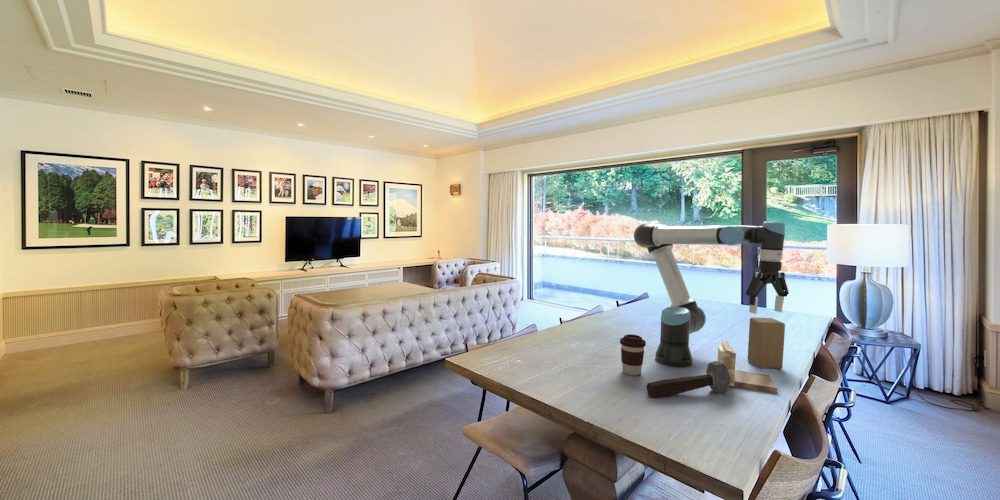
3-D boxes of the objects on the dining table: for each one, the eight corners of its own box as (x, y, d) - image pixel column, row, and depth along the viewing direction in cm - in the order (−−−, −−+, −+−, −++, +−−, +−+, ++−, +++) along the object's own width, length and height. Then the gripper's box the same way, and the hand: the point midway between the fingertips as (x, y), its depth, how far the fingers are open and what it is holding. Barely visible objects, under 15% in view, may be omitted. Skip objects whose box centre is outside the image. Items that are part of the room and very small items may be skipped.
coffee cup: (648, 372, 165) (649, 336, 163) (638, 379, 157) (639, 341, 156) (625, 366, 171) (626, 331, 170) (614, 372, 164) (615, 336, 163)
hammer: (653, 409, 140) (731, 393, 144) (651, 378, 139) (728, 363, 143) (646, 403, 145) (721, 388, 149) (643, 373, 144) (719, 359, 148)
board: (714, 383, 154) (714, 378, 154) (712, 371, 167) (712, 366, 167) (776, 393, 146) (776, 387, 146) (769, 379, 159) (769, 374, 158)
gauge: (718, 384, 152) (720, 349, 151) (716, 371, 165) (718, 339, 164) (734, 386, 150) (736, 351, 149) (730, 373, 163) (732, 341, 162)
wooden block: (770, 361, 180) (772, 317, 178) (783, 369, 170) (786, 323, 168) (746, 360, 181) (748, 316, 179) (758, 368, 171) (761, 322, 169)
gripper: (755, 261, 154) (750, 315, 156) (802, 261, 162) (797, 313, 163) (738, 259, 161) (733, 311, 163) (784, 259, 169) (779, 308, 171)
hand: (765, 312), depth 163 cm, fingers open, 13 cm apart
